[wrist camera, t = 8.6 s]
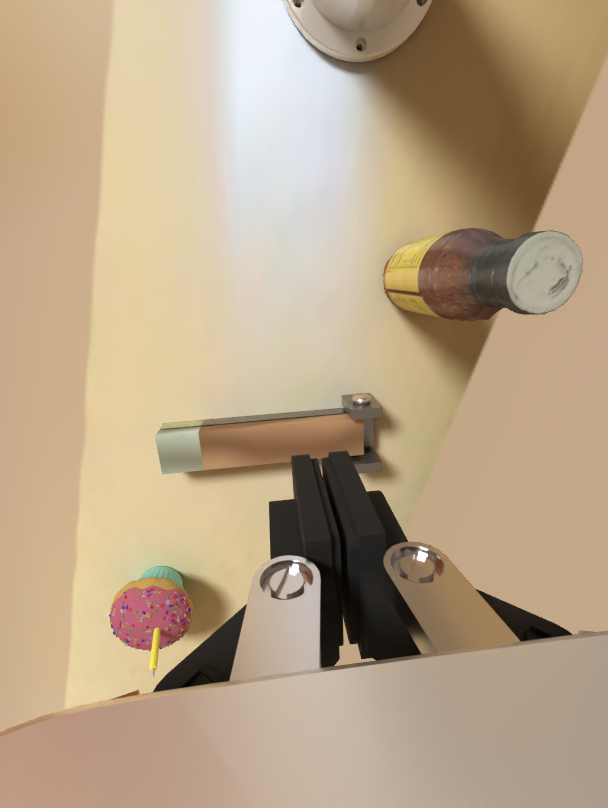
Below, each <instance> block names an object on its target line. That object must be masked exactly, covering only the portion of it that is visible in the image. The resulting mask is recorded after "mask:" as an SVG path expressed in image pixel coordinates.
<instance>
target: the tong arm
mask: <svg viewBox="0 0 608 808" xmlns="http://www.w3.org/2000/svg"><path fill="white" fill-rule="evenodd" d="M155 438H156V444H157V449H158V454H159V459H160V464H161V470H162V474H170V473H180V472H191V471H201V470H211V469H221V468H232V467H242V466H252V465H263V464H273V463H283V462H291V456H294V455H305V454H309V455H310V458H311V459H314V458H317V459H322V458H324V457H328V454H329V452H337V451H348V453H349V455H350V456H355V455H364V419H355V420H351V419H350V417H349V416H348V414H340V415H328V416H317V417H306V418H294V419H283V420H272V421H261V422H249V423H238V424H227V425H216V426H204V427H193V428H182V429H170V430H159V431H158V433H157V434H156V436H155Z"/></svg>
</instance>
